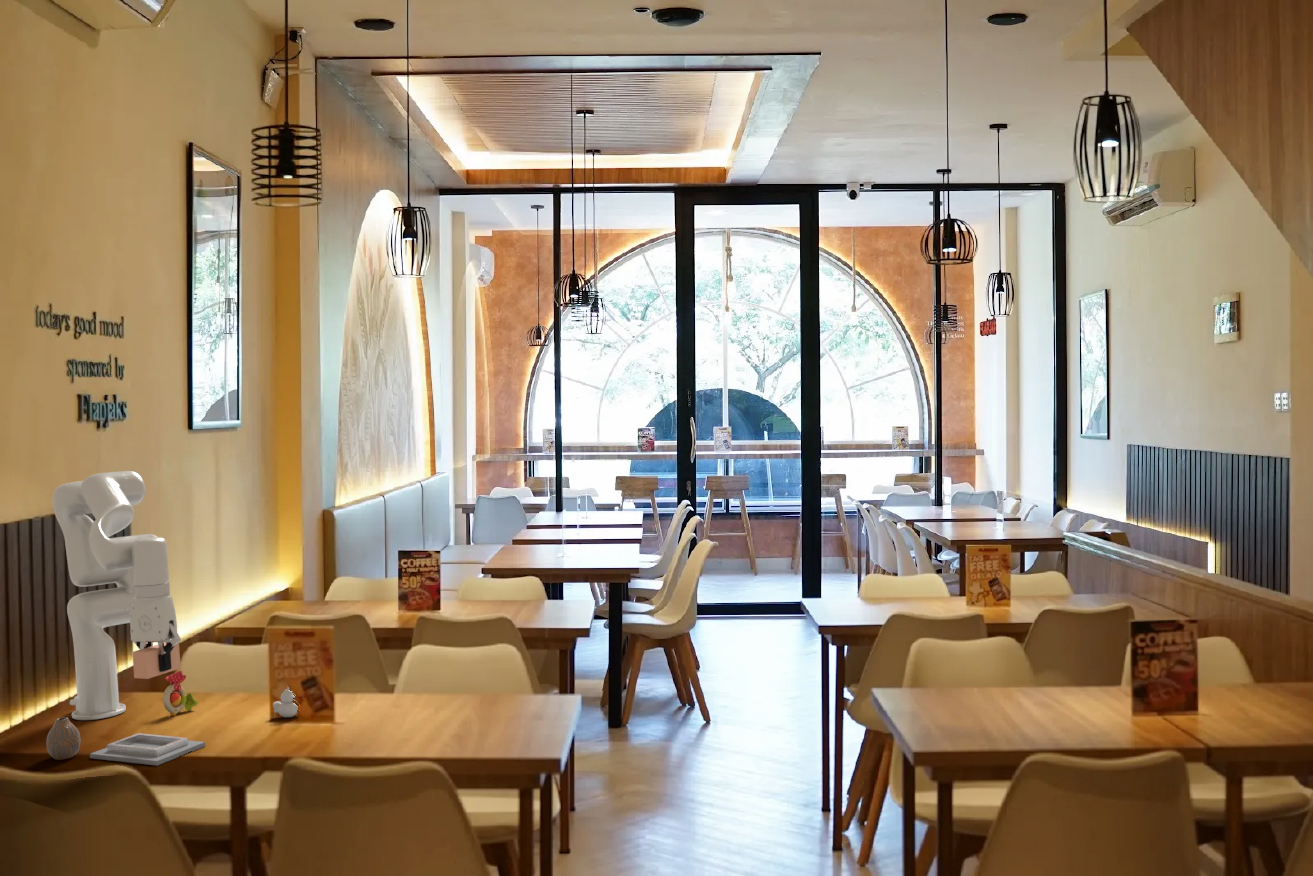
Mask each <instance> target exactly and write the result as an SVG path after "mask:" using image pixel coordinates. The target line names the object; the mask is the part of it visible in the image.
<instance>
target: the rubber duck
mask: <svg viewBox="0 0 1313 876" xmlns="http://www.w3.org/2000/svg"><path fill="white" fill-rule="evenodd" d="M289 689H290V686H289V687H288V686H287V688H285V689H284V690H283V692H282V693H281V694H280V697H279V698H280V700H281V701H279V700H278V701H277V700H276V701H274V702H273V703H272V707H273V712H274V713H278V714H279V716H281V717H282V718H293V717H295V716H296V715H297V714H298V713H297V710H298V706H297V705H296V704H295V703H293V702H292V701H293V700H294V701H295V699H296V697H295V696H296V695H295V694H294V692H293V690H292V691H290V690H289ZM292 692H293V693H292ZM293 694H294V695H295V696H294V695H293ZM293 698H295V699H293ZM281 702H282V703H281ZM296 713H297V714H296ZM295 714H296V715H295ZM294 715H295V716H294Z"/></svg>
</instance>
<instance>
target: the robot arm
mask: <svg viewBox="0 0 1313 876" xmlns="http://www.w3.org/2000/svg"><path fill="white" fill-rule="evenodd" d="M145 496H146V485H145V481H144V480H143V477H142V476H141V475H140V474H139V473H138V472H135V471H133V470H132V471H131V470H122V471H108V472H98V473H93V474H91V475H88V476H87V477H85V478H84V480H78V481H71V482H67V483H63V484H60V485H59V486H57V487H56V488H55V489H54V491H53V494H52V508H53V512H54V515H55V518H56V520H57V522H58V524H59V526H60V529H61V532H62V533H63V538H64V544H65V551H66V552H65V553H66V560H67V569H68V573H69V574H68V575H69V578H70V581H71V584H73V585H74V586H76V587H94V586H100V585H107V584H115V585H116V587H114V588H105V589H99V590H98V589H97V590H92V591H91V590H90V591H86V592H82V593H79V594H76V595H74V596H72V597H71V598H70V599H69V601H68V602H67V605H66V612H67V617H68V621H69V626H70V629H71V634H72V642H73V652H74V665H75V667H74V669H75V670H74V671H75V681H76V695H75V696H74V697H73V699H70V700H69V705H70V706H75V710H73V711H72V713H71V718H72V719H74V720H77V721H93V720H100V719H105V718H106V719H107V718H111V717H115V716H117V715H120V714H122V713H124V712H126V709H127V707H126V704H124V703H121V702H120V701H119V700H120V698H119V697H120V696H119V682H118V669H117V668H118V667H117V656H116V655H117V653H116V651H117V650H116V644H115V643H116V642H114V641H115V640H114V639H113V638H112V637H111V636H110V635H109V634H108V633H107V632H105V630H104V629H105V628H107V627H108V628H109V627H112V626H117V625H118V626H119V625H123V624H129V626H130V641H131V642H132V643H133V644H135V645H136V646H137V648H138V650H141V649H144V648H148V647H151V646H154V643H157V645H159V650H160V654H159V655H158V659H159V671H160V672H163V671H167V670H170V669H171V652H172V651H173V648H174V647H175V645H176V644H177V643H179V644H180V642H181V641H182V640H181V639H182V638H181V637H180V635H179V633H178V624H177V623H178V622H177V614H176V608H175V605H174V600H173V596H171V586H170V585H171V584H170V574H169V573H170V572H169V560H168V559H169V558H168V557H169V556H168V543H167V541H166V539H165V538H164V537H160V536H157V535H155V534H151V533H147V534H146V533H145V534H136V535H126V536H125V535H124V536H118V537H112V536H113V535H115V534H117V533H120V532H122V530H124V529H126V528H127V527H128V526H130V524H131V523H132V522H133V520H134V518H135V510H134V509H135V508H134V507H135V506H137V505H139V504H140V503H142V501H143V500H144V498H145ZM88 514H90V515H91V514H92V515H93V517H94V519H95V520H93V519H92V518H91V517H90V516H88ZM110 537H111V538H110ZM165 642H166V645H165V646H164V643H165Z"/></svg>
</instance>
